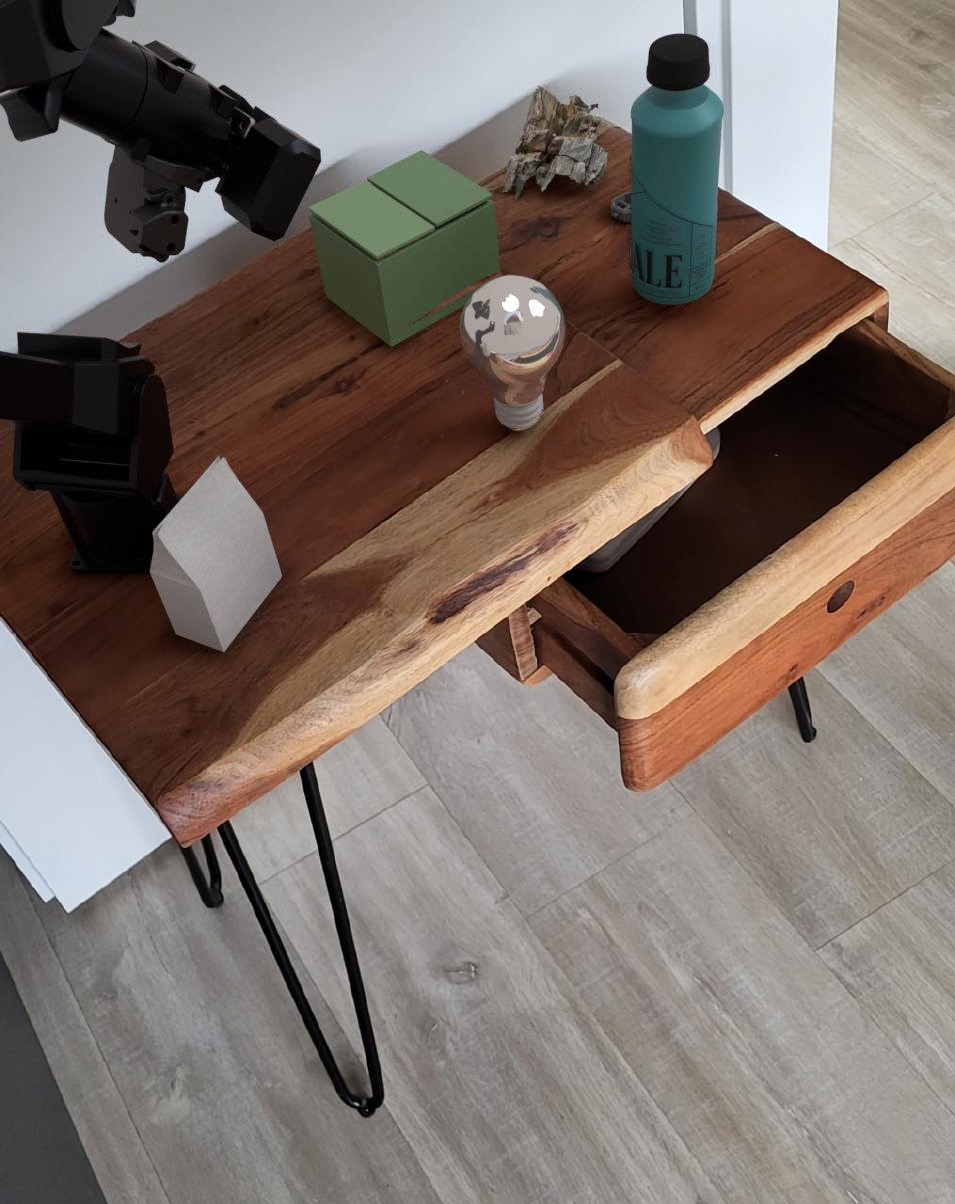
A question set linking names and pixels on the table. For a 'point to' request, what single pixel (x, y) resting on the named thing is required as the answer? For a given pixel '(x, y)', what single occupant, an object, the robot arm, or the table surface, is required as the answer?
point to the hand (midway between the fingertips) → (305, 181)
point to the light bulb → (513, 343)
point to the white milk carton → (213, 559)
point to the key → (619, 202)
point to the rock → (557, 144)
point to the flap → (371, 219)
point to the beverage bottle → (675, 173)
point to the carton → (413, 252)
